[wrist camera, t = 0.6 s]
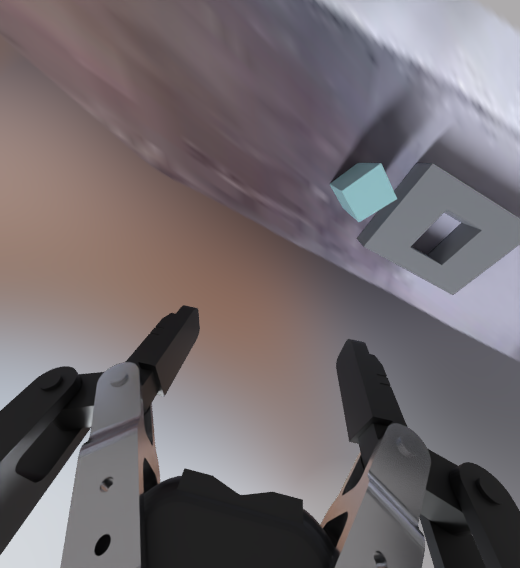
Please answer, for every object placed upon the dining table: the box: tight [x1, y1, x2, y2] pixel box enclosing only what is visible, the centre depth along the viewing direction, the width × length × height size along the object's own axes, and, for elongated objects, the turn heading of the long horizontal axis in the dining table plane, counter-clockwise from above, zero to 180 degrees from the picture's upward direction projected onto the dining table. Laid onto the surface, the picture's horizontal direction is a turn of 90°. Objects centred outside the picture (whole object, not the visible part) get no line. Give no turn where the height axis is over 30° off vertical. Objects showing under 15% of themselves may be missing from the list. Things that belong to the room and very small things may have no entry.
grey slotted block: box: [357, 163, 520, 295], centre depth 27 cm, size 16×11×4 cm
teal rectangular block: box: [330, 163, 397, 222], centre depth 24 cm, size 4×4×8 cm
